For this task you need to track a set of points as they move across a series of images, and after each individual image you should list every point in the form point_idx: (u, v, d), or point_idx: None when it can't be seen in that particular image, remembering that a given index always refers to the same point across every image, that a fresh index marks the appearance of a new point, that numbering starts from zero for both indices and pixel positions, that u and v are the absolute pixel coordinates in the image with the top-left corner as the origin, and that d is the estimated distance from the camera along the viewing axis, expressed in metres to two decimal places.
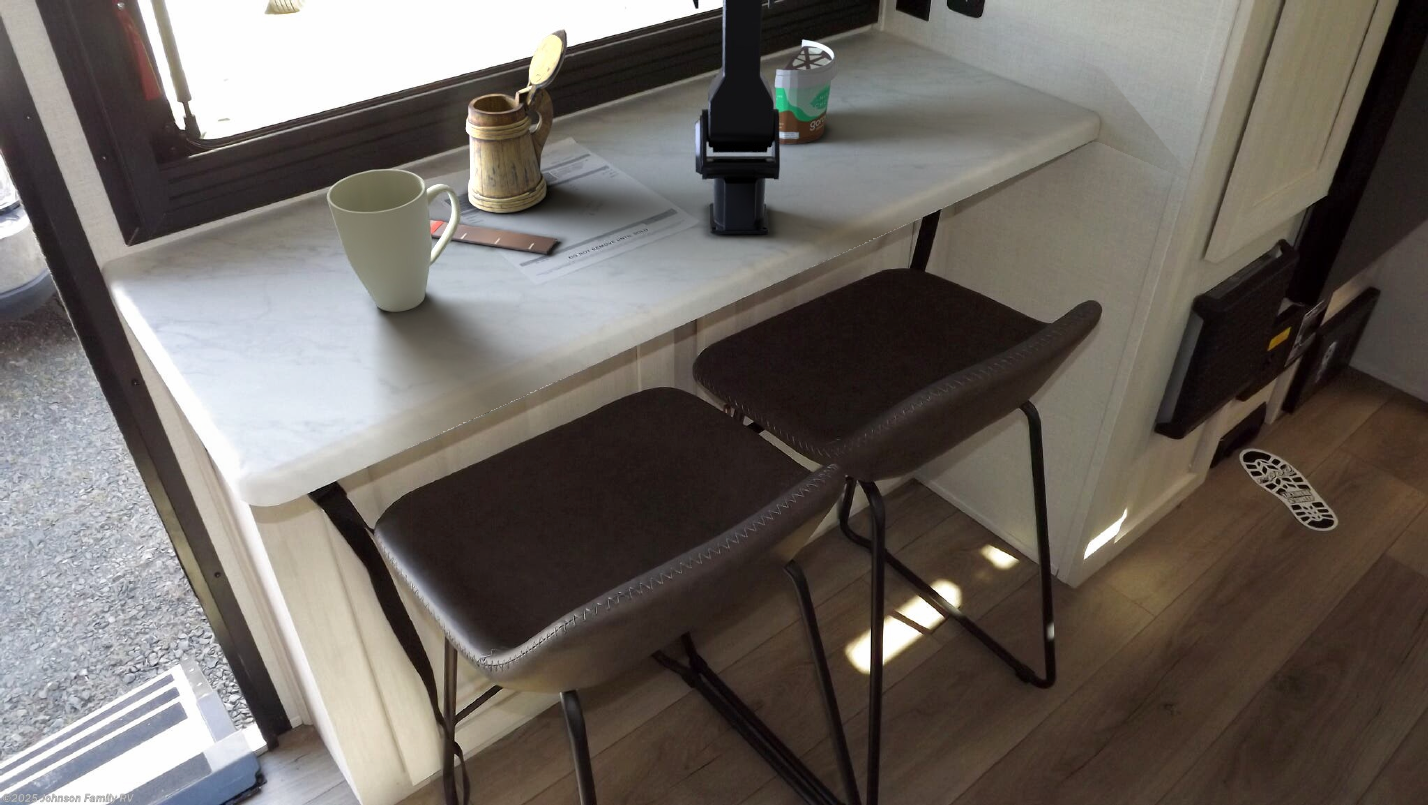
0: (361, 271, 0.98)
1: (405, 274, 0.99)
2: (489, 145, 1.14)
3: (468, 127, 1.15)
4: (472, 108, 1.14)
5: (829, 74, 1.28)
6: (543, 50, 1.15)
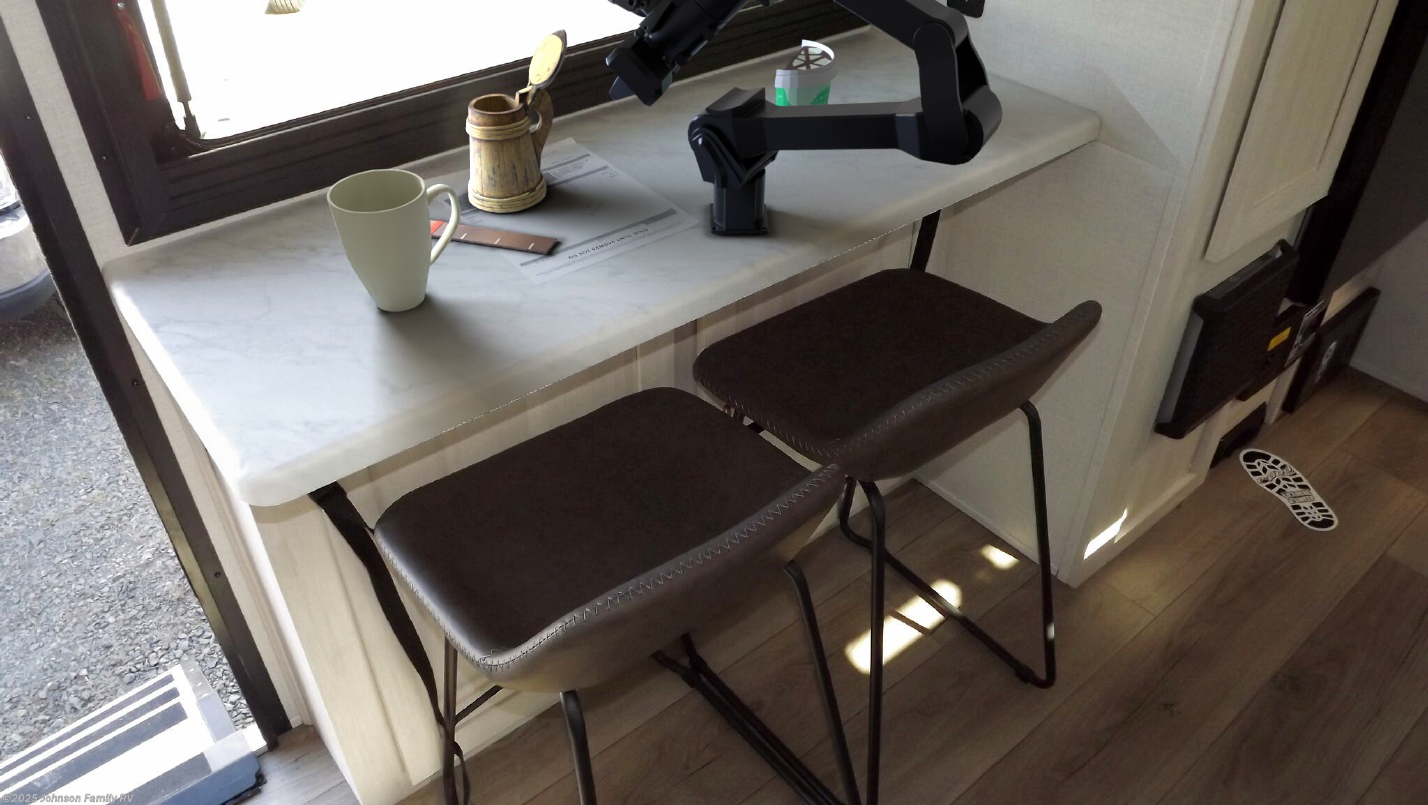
0: (361, 271, 0.98)
1: (405, 274, 0.99)
2: (489, 145, 1.14)
3: (468, 127, 1.15)
4: (472, 108, 1.14)
5: (829, 74, 1.28)
6: (543, 50, 1.15)
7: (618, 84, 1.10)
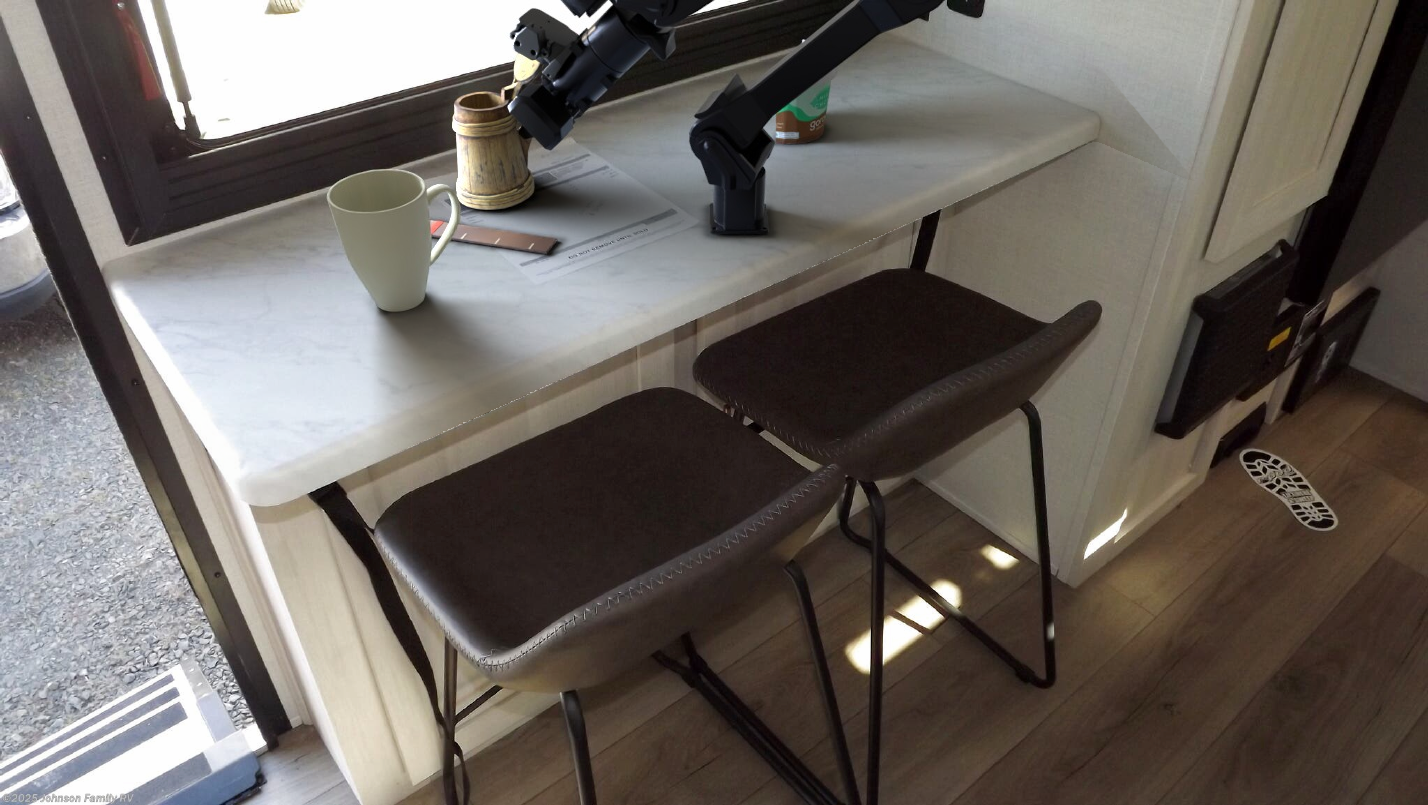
0: (361, 271, 0.98)
1: (405, 274, 0.99)
2: (476, 142, 1.14)
3: (454, 125, 1.15)
4: (458, 106, 1.14)
5: (829, 74, 1.28)
6: None
7: None
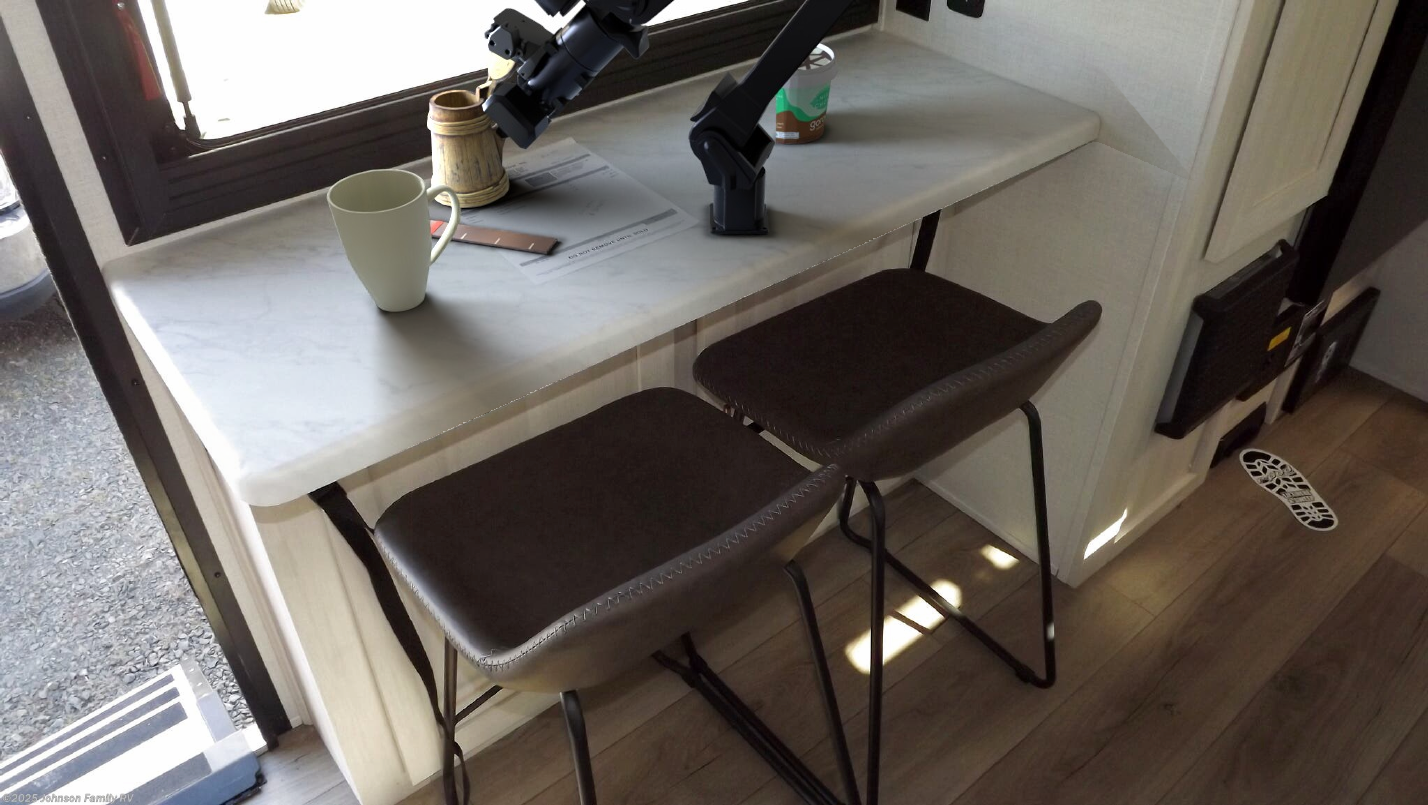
0: (361, 271, 0.98)
1: (405, 274, 0.99)
2: (452, 141, 1.15)
3: (430, 123, 1.15)
4: (433, 104, 1.14)
5: (829, 74, 1.28)
6: None
7: None
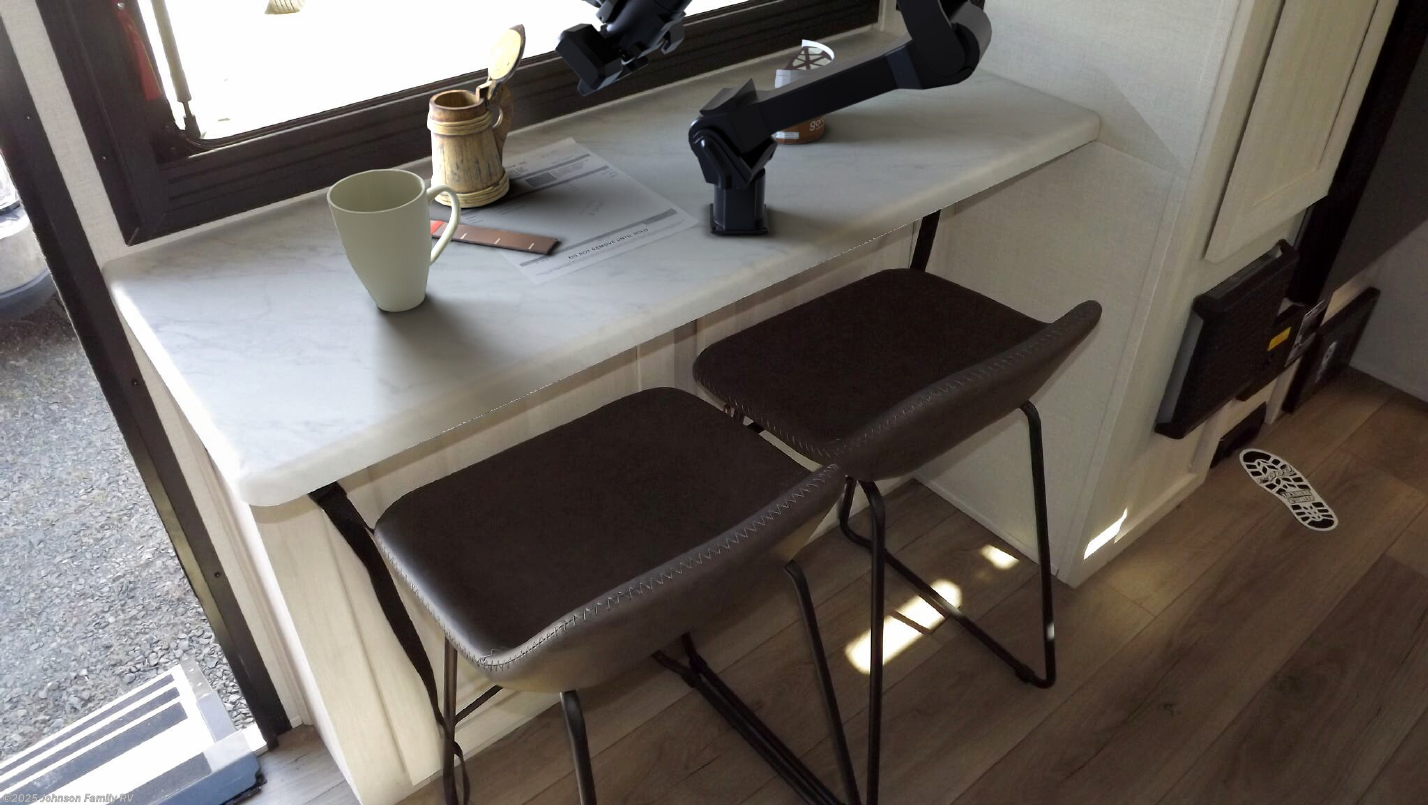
0: (361, 271, 0.98)
1: (405, 274, 0.99)
2: (452, 141, 1.15)
3: (430, 123, 1.15)
4: (433, 104, 1.14)
5: None
6: (501, 45, 1.17)
7: None
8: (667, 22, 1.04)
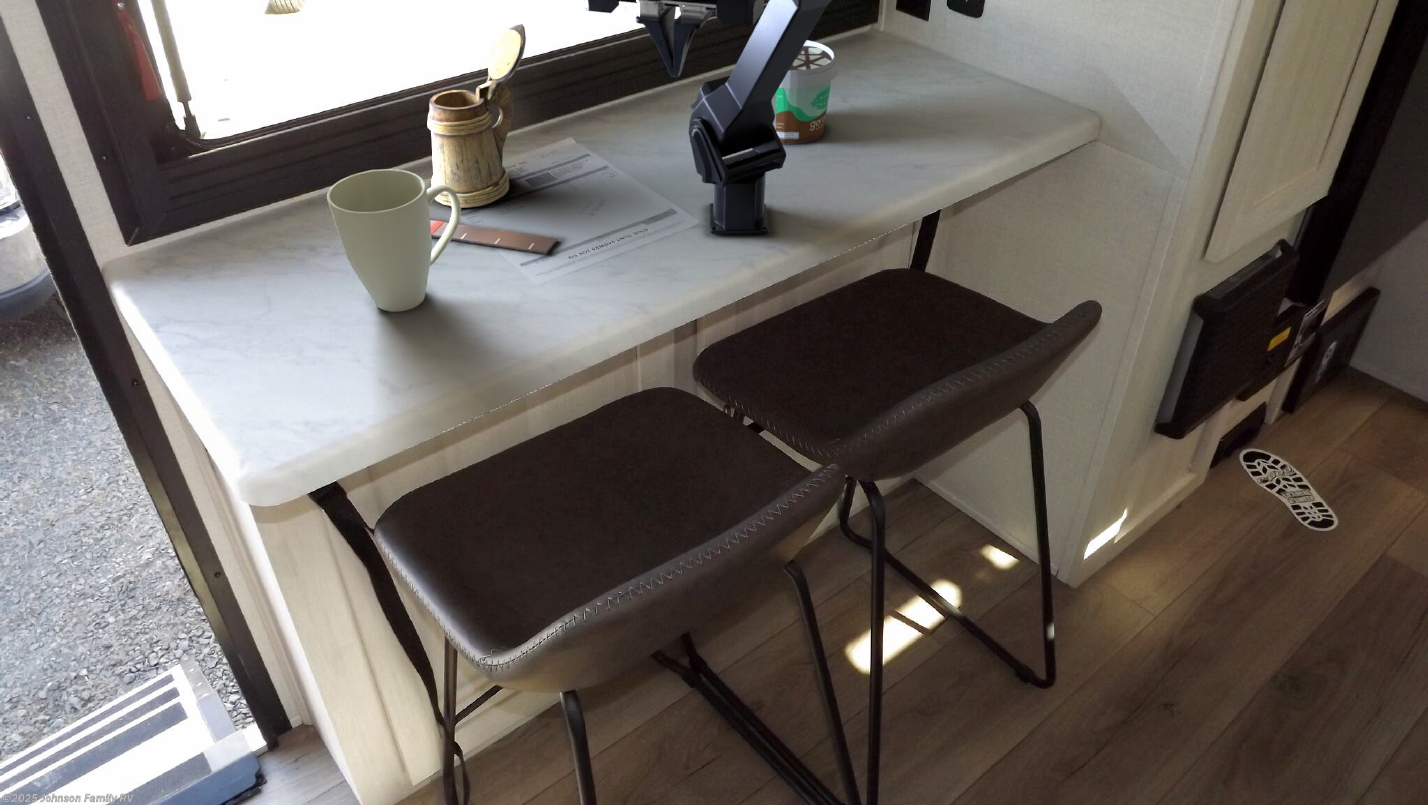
0: (361, 271, 0.98)
1: (405, 274, 0.99)
2: (452, 141, 1.15)
3: (430, 123, 1.15)
4: (433, 104, 1.14)
5: (829, 74, 1.28)
6: (501, 45, 1.17)
7: None
8: None
